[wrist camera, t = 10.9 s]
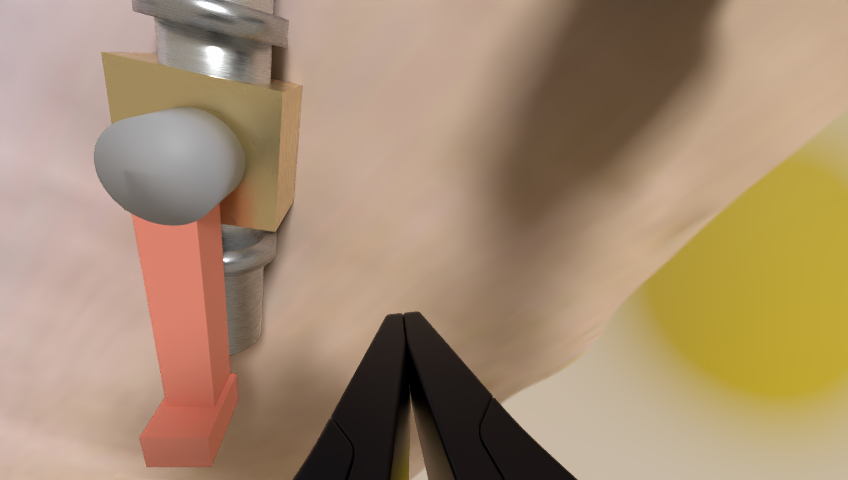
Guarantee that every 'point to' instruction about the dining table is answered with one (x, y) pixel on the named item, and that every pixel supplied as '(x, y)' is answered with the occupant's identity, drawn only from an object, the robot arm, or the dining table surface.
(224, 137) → the lever
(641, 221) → the dining table surface
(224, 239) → the valve
